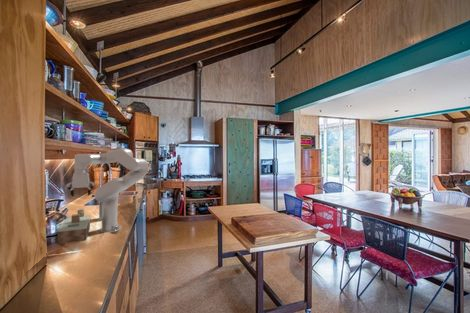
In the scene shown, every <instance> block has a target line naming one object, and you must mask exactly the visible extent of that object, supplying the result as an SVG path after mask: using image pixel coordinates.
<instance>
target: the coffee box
mask: <svg viewBox="0 0 470 313" xmlns="http://www.w3.org/2000/svg"><path fill="white" fill-rule="evenodd" d="M98 203H99V204H98V205H99V210H98V211H99V212H98V215H99V216H98V218H99V221H102V204H103V202H100V201H98Z"/></svg>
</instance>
